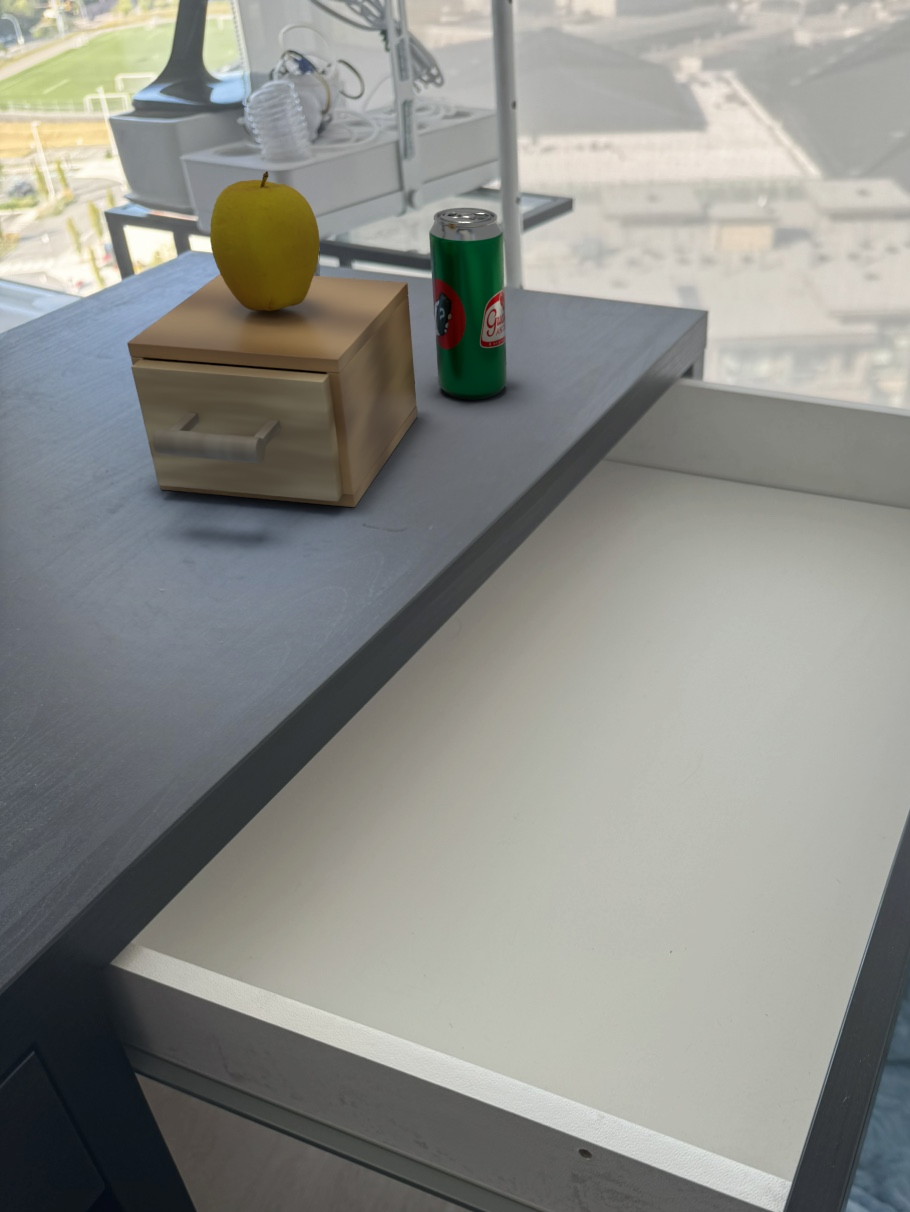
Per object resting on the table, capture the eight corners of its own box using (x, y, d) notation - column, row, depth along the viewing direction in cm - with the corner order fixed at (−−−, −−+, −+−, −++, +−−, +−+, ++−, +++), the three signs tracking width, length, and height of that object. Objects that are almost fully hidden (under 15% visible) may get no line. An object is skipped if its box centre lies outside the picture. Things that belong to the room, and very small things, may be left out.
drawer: (313, 534, 67) (296, 411, 62) (126, 517, 68) (94, 394, 63) (399, 415, 80) (390, 306, 76) (241, 402, 82) (222, 294, 77)
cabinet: (354, 507, 72) (337, 359, 66) (160, 489, 73) (126, 342, 67) (417, 416, 83) (407, 282, 77) (247, 401, 84) (225, 269, 78)
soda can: (498, 405, 85) (493, 227, 77) (430, 399, 85) (419, 222, 78) (513, 380, 88) (510, 208, 81) (449, 374, 89) (439, 203, 81)
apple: (303, 331, 69) (283, 183, 64) (203, 321, 70) (176, 174, 65) (343, 298, 74) (328, 158, 69) (250, 289, 75) (228, 151, 70)
